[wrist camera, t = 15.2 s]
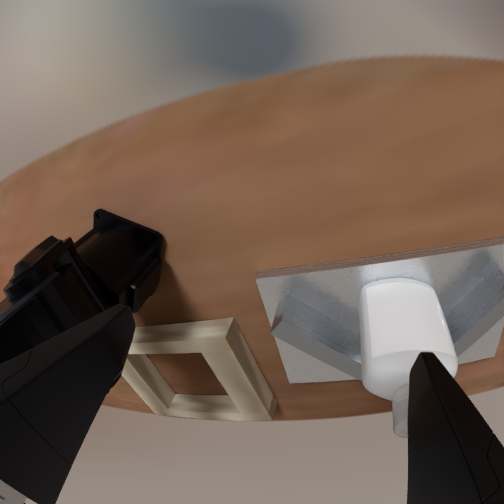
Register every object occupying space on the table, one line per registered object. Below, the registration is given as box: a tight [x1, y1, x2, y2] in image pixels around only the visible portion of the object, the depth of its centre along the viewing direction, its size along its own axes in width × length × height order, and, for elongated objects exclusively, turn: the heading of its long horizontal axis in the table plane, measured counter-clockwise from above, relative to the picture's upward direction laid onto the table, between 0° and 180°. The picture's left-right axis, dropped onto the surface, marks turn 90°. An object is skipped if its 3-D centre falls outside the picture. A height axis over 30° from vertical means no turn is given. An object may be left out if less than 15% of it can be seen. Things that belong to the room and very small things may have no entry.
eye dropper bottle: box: [359, 278, 458, 438], centre depth 16 cm, size 4×6×12 cm
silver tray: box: [256, 237, 504, 383], centre depth 21 cm, size 12×20×4 cm, turn 105°
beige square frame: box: [122, 317, 277, 421], centre depth 31 cm, size 16×13×2 cm
